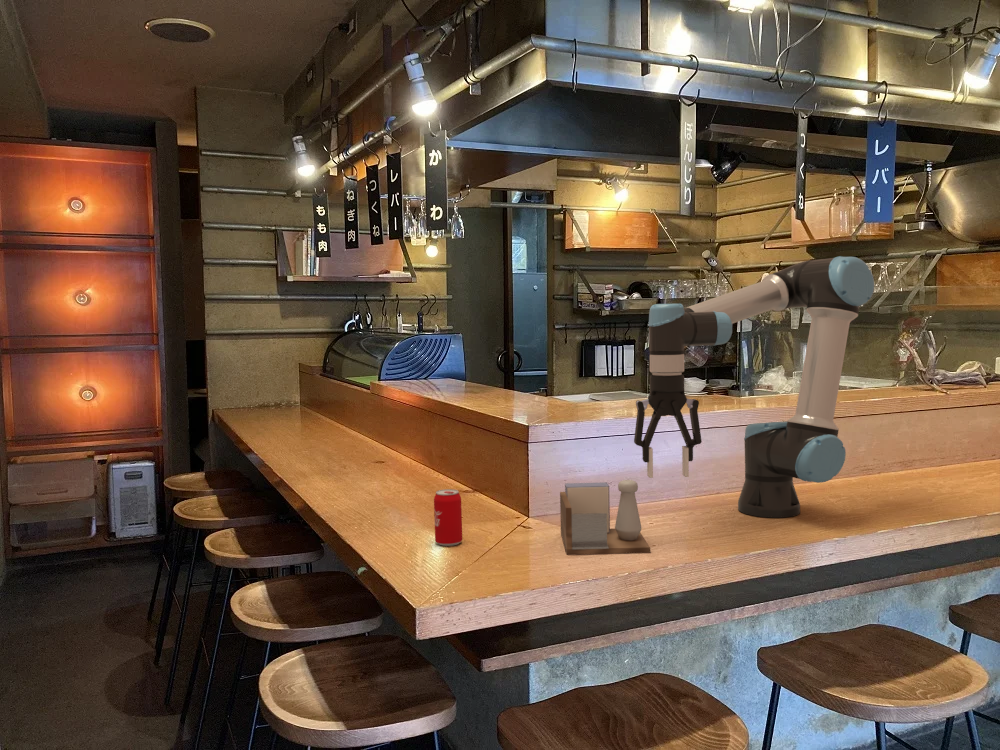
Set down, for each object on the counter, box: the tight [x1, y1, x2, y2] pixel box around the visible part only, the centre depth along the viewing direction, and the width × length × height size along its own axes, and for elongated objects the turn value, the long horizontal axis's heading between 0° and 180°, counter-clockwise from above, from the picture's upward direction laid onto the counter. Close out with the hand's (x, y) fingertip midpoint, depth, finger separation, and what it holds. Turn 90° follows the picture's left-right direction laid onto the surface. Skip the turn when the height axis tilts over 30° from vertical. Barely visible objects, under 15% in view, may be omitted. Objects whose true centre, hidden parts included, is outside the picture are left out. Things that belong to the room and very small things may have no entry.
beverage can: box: [433, 488, 463, 547], centre depth 181 cm, size 6×6×12 cm
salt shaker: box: [614, 479, 643, 541], centre depth 177 cm, size 6×6×13 cm
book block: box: [564, 481, 611, 533], centre depth 184 cm, size 10×4×11 cm, turn 90°
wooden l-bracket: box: [559, 491, 651, 556], centre depth 178 cm, size 18×16×10 cm
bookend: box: [572, 513, 609, 549], centre depth 171 cm, size 8×3×7 cm, turn 90°
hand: (667, 476), depth 177 cm, fingers open, 7 cm apart
